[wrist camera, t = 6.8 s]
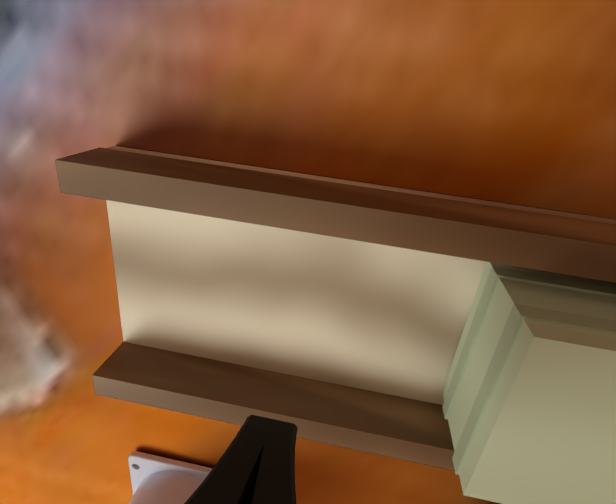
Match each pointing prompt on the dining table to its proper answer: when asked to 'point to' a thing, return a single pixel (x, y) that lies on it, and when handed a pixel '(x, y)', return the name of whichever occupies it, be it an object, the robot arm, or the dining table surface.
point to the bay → (306, 292)
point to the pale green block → (535, 389)
